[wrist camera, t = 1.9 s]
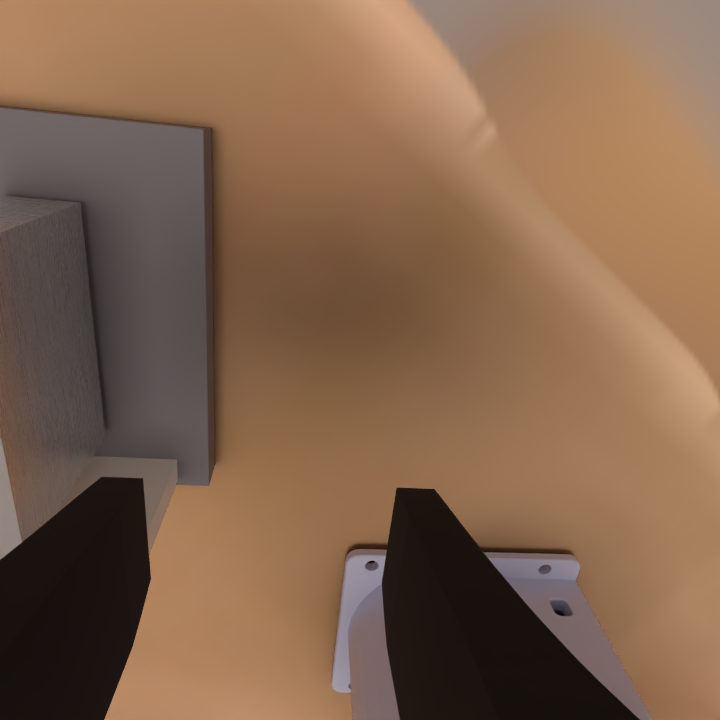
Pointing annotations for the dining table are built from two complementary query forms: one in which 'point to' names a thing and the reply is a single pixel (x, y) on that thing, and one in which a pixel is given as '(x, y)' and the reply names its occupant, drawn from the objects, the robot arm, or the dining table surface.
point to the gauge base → (135, 283)
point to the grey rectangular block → (44, 363)
